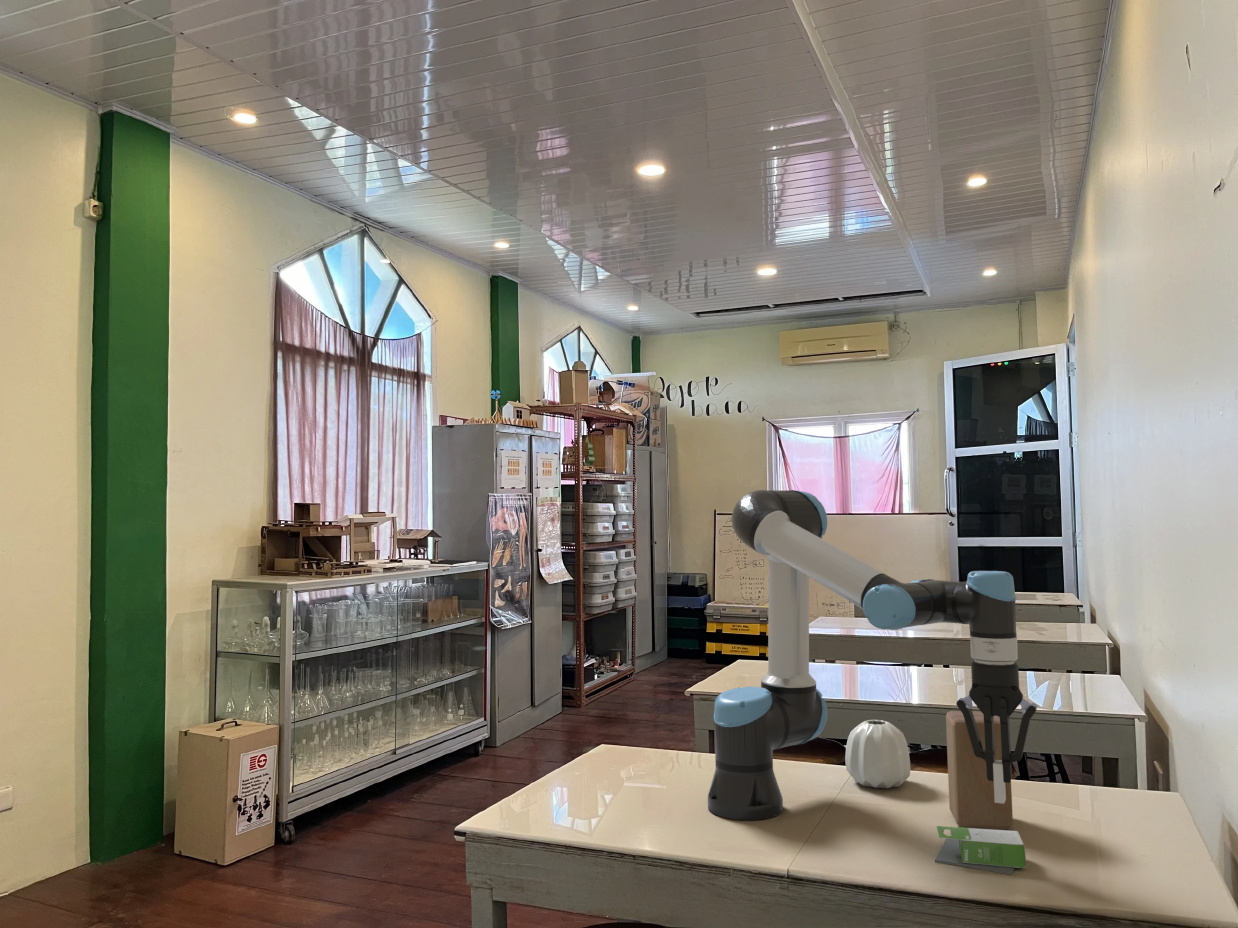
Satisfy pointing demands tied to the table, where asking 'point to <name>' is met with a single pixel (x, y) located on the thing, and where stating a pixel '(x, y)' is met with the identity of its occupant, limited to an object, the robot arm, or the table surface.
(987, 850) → the ink box
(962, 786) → the wooden block
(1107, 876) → the table surface
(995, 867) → the mat
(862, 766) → the vase
